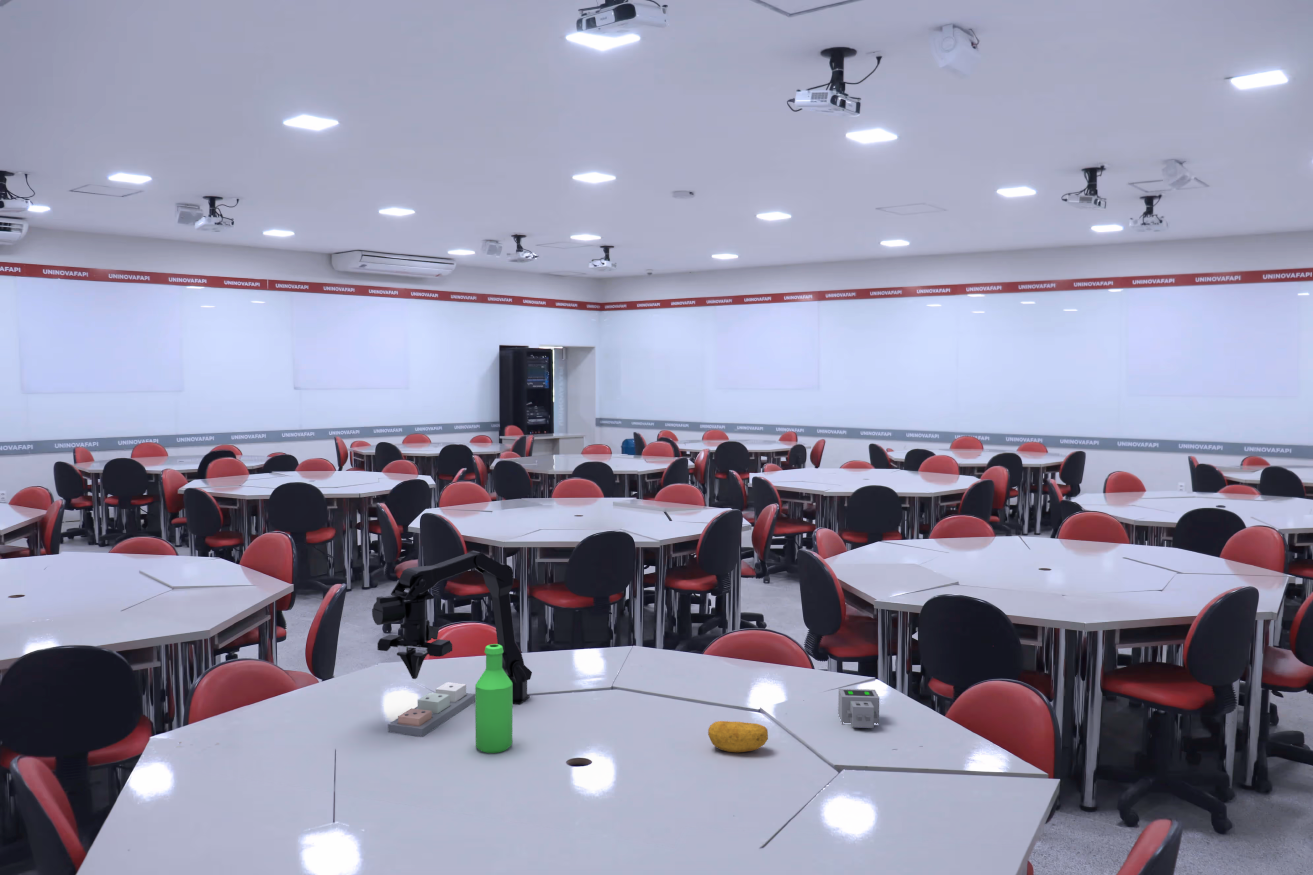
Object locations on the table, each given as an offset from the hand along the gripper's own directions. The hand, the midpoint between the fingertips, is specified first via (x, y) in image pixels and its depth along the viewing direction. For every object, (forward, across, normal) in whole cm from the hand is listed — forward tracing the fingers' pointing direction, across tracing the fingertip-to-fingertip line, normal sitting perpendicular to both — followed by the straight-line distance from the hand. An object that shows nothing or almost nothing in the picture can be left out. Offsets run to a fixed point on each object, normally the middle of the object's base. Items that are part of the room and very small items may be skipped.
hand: (414, 678), depth 220 cm
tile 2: (+11, 0, -9) cm, 14 cm away
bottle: (+13, -25, +5) cm, 29 cm away
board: (+13, 0, -9) cm, 16 cm away
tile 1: (+11, 0, -18) cm, 21 cm away
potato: (+13, -82, -11) cm, 84 cm away
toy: (+13, -109, -39) cm, 117 cm away
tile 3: (+12, 0, 0) cm, 12 cm away
